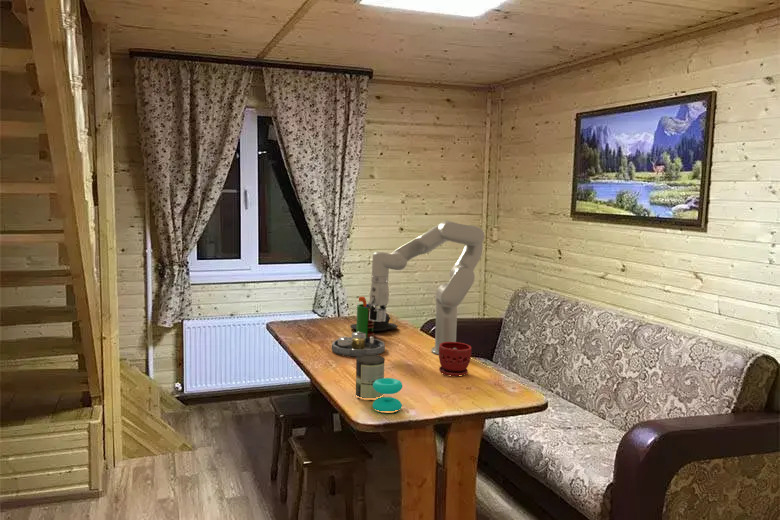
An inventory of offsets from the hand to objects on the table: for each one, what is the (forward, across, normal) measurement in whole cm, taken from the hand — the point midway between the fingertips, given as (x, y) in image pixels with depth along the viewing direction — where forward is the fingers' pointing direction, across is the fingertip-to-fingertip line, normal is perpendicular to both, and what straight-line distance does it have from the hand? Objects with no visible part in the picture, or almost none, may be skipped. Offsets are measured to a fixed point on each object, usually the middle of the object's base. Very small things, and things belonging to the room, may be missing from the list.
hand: (377, 318), depth 298 cm
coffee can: (+16, -55, -28) cm, 64 cm away
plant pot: (+15, -12, -43) cm, 47 cm away
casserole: (+16, +40, +23) cm, 49 cm away
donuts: (+16, -64, -40) cm, 77 cm away
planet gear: (+1, 0, 0) cm, 1 cm away
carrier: (+16, -1, +8) cm, 18 cm away
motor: (+16, +24, +19) cm, 35 cm away
